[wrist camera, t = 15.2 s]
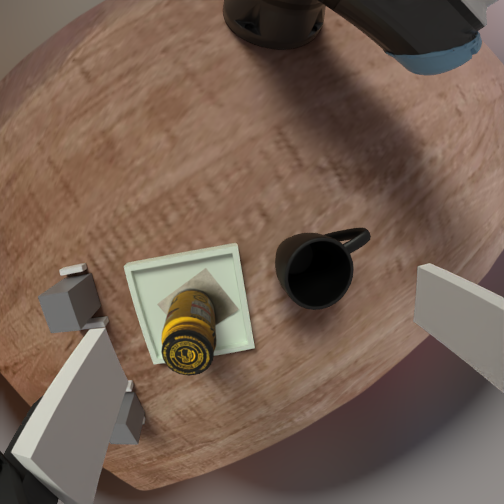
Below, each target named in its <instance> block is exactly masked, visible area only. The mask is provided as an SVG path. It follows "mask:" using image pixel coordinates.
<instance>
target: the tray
mask: <svg viewBox="0 0 504 504" xmlns="http://www.w3.org/2000/svg"><path fill="white" fill-rule="evenodd" d="M205 268H206V269H207V270H208V271H209V272H210V274H211V275H212V276H213V277H214V279H215V280H216V281H217V282H218V284H219V285H220V286H221V287H222V289H223V290H224V291H225V292H226V294H227V295H228V296H229V297H230V299H231V300H232V301H233V302H234V304H235V305H236V306H237V307H238V309H239V310H238V311H236V312H235V313H233V314H232V315H230V316H229V317H227V318H226V319H224V320H223V321H221V322H220V323H219V324H217V325H215V326H216V339H217V341H216V348H215V350H214V356H216V355H221V354H227V353H232V352H238V351H243V350H248V349H253V348H255V346H254V340H253V335H252V329H251V323H250V317H249V311H248V305H247V299H246V293H245V288H244V282H243V275H242V269H241V263H240V257H239V251H238V245H237V244H236V243H233V244H227V245H221V246H216V247H210V248H205V249H199V250H194V251H188V252H183V253H177V254H172V255H166V256H161V257H155V258H150V259H145V260H139V261H134V262H129V263H127V264H126V265H125V266H124V270H125V274H126V278H127V281H128V285H129V289H130V292H131V296H132V300H133V303H134V306H135V310H136V313H137V316H138V320H139V323H140V326H141V329H142V332H143V335H144V338H145V341H146V344H147V347H148V350H149V352H150V355H151V358H152V361H153V363H154V364H160V363H165V362H164V360H163V357H162V352H161V351H162V341H161V337H162V331H163V328H164V324H165V320H166V317H167V315H166V314H165V313H164V312H163V311H162V309H161V308H160V307H159V306H158V305H157V304H158V303H159V302H161V301H162V300H163V299H165V298H166V297H167V296H168V295H170V294H171V293H173V292H174V291H175V290H177V289H178V288H179V287H181V286H182V285H183V284H185V283H186V282H188V281H189V280H190V279H192V278H193V277H194V276H196V275H197V274H198V273H200V272H201V271H202V270H204V269H205Z"/></svg>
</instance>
